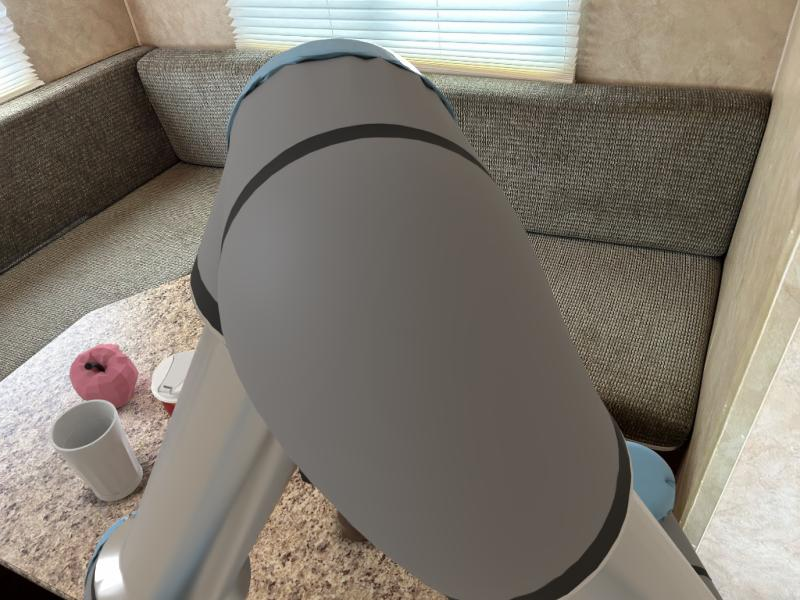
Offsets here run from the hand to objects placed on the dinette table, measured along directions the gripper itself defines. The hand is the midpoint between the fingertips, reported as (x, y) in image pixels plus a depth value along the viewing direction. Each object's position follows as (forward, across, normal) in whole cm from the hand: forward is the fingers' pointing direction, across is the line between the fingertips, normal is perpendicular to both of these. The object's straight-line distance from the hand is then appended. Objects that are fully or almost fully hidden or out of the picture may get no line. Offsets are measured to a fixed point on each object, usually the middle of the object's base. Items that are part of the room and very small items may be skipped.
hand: (308, 462), depth 71 cm
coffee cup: (+19, +3, -10) cm, 22 cm away
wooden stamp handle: (-6, 0, -10) cm, 11 cm away
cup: (+28, -6, -10) cm, 30 cm away
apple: (+39, +5, -10) cm, 41 cm away
